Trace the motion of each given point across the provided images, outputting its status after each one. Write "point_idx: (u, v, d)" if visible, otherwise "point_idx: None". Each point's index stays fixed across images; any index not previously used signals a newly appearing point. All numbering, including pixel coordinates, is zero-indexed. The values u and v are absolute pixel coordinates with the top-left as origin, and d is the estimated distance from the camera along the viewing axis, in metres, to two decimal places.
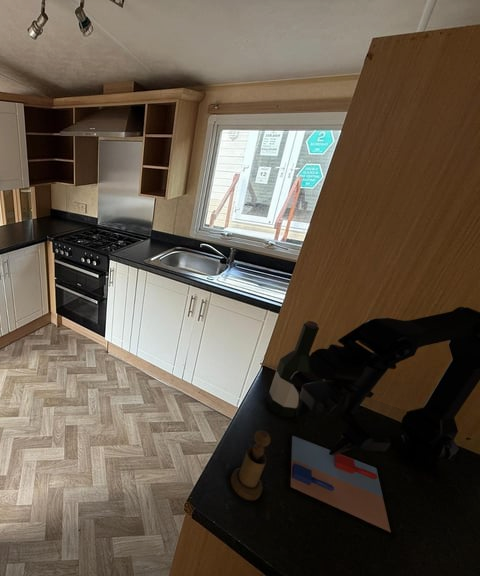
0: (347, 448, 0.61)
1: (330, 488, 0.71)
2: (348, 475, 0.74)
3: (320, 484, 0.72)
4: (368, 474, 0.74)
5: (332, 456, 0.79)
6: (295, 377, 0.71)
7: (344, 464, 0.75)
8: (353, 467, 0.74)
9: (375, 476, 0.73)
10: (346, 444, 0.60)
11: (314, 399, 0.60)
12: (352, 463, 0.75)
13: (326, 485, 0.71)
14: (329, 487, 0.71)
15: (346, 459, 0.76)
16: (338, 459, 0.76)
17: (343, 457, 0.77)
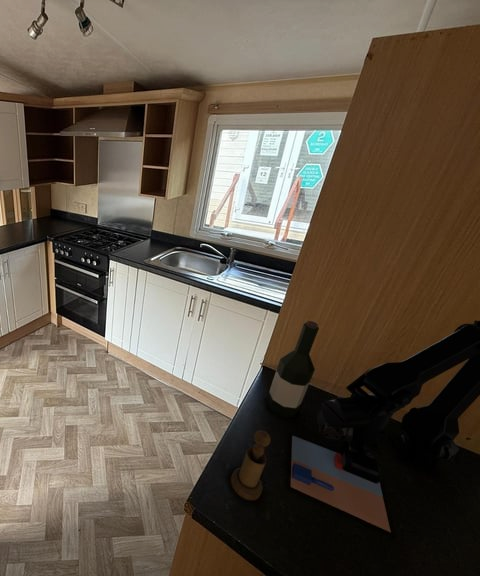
0: None
1: (330, 488, 0.71)
2: (348, 475, 0.74)
3: (320, 484, 0.72)
4: None
5: (332, 456, 0.79)
6: None
7: None
8: None
9: None
10: None
11: None
12: None
13: (326, 485, 0.71)
14: (329, 487, 0.71)
15: None
16: (338, 459, 0.76)
17: None
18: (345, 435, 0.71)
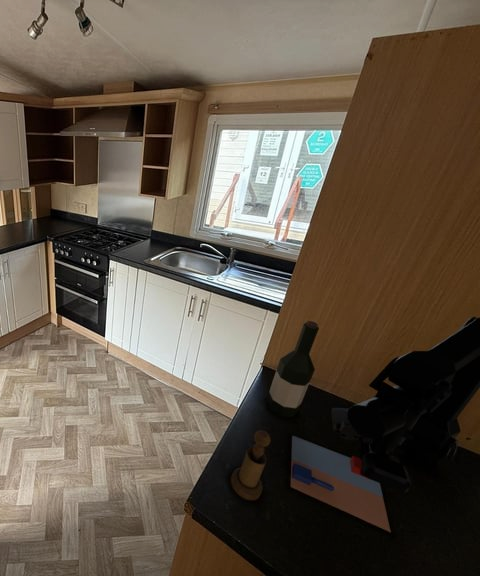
0: None
1: (330, 488, 0.71)
2: (348, 475, 0.74)
3: (320, 484, 0.72)
4: None
5: (332, 456, 0.79)
6: None
7: None
8: None
9: None
10: None
11: (332, 419, 0.64)
12: None
13: (326, 485, 0.71)
14: (329, 487, 0.71)
15: None
16: (355, 463, 0.66)
17: (361, 461, 0.67)
18: None
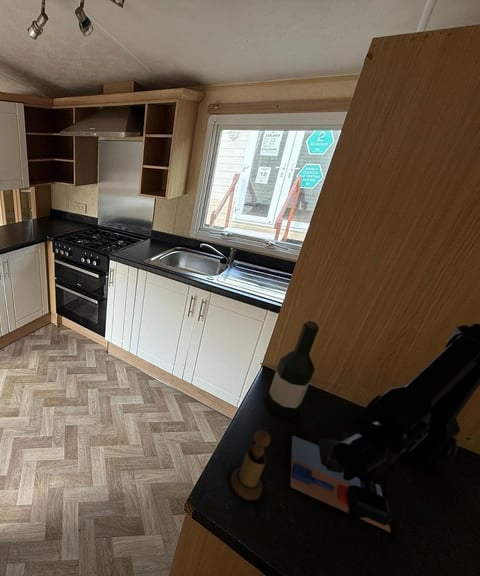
0: None
1: (330, 488, 0.71)
2: None
3: (320, 484, 0.72)
4: None
5: None
6: (341, 436, 0.73)
7: None
8: None
9: None
10: None
11: (319, 451, 0.67)
12: None
13: (326, 485, 0.71)
14: (329, 487, 0.71)
15: None
16: (341, 491, 0.69)
17: None
18: None
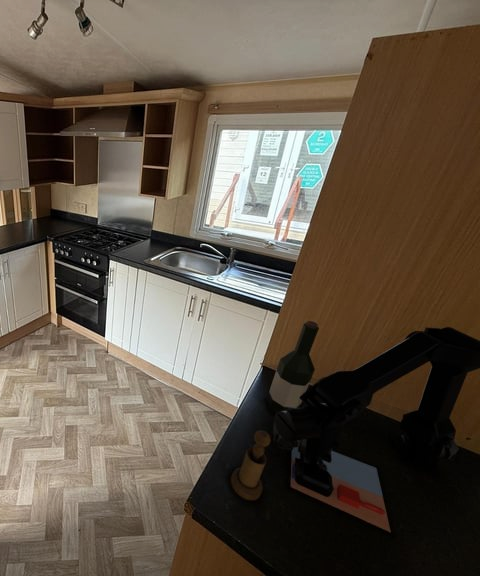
0: None
1: None
2: (348, 475, 0.74)
3: None
4: (375, 509, 0.67)
5: (332, 456, 0.79)
6: None
7: (348, 498, 0.68)
8: (358, 501, 0.67)
9: (382, 512, 0.66)
10: None
11: (273, 431, 0.72)
12: (357, 496, 0.68)
13: None
14: None
15: (350, 491, 0.69)
16: (341, 491, 0.69)
17: (347, 489, 0.70)
18: (299, 445, 0.68)
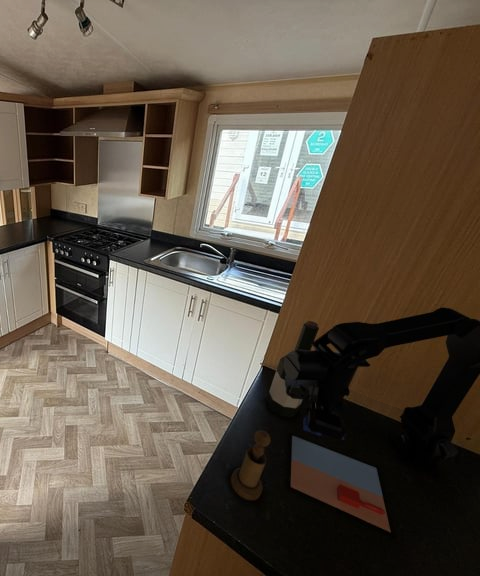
0: None
1: None
2: (348, 475, 0.74)
3: None
4: (375, 509, 0.67)
5: (332, 456, 0.79)
6: None
7: (348, 498, 0.68)
8: (358, 501, 0.67)
9: (382, 512, 0.66)
10: None
11: None
12: (357, 496, 0.68)
13: None
14: None
15: (350, 491, 0.69)
16: (341, 491, 0.69)
17: (347, 489, 0.70)
18: (311, 394, 0.70)
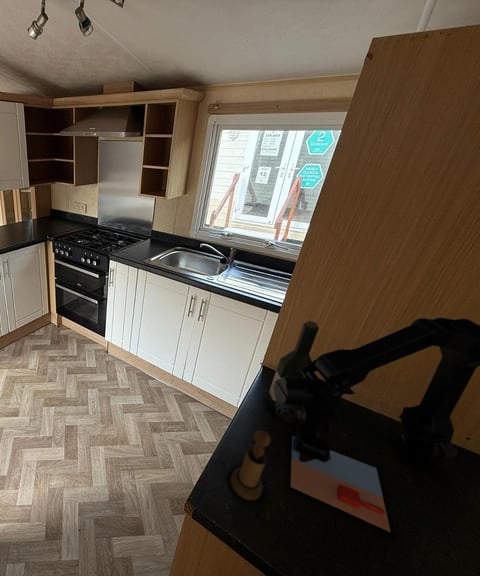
0: (308, 457, 0.74)
1: None
2: (348, 475, 0.74)
3: None
4: (375, 509, 0.67)
5: (332, 456, 0.79)
6: None
7: (348, 498, 0.68)
8: (358, 501, 0.67)
9: (382, 512, 0.66)
10: None
11: None
12: (357, 496, 0.68)
13: None
14: None
15: (350, 491, 0.69)
16: (341, 491, 0.69)
17: (347, 489, 0.70)
18: (299, 418, 0.75)
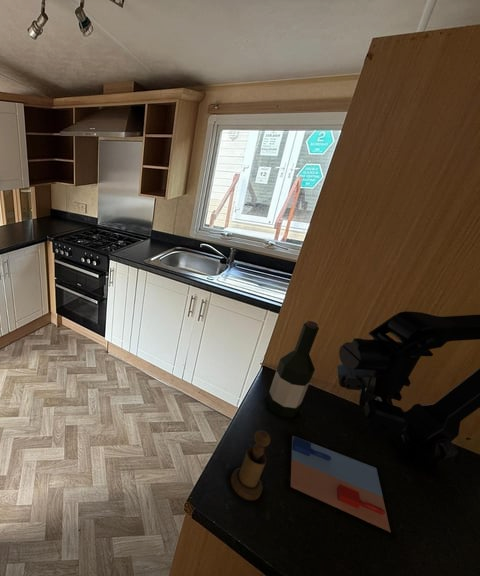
0: (377, 427, 0.68)
1: (328, 458, 0.77)
2: (348, 475, 0.74)
3: (318, 455, 0.78)
4: (375, 509, 0.67)
5: (332, 456, 0.79)
6: None
7: (348, 498, 0.68)
8: (358, 501, 0.67)
9: (382, 512, 0.66)
10: (369, 420, 0.68)
11: (338, 373, 0.72)
12: (357, 496, 0.68)
13: (324, 456, 0.78)
14: (327, 457, 0.78)
15: (350, 491, 0.69)
16: (341, 491, 0.69)
17: (347, 489, 0.70)
18: (367, 385, 0.69)
